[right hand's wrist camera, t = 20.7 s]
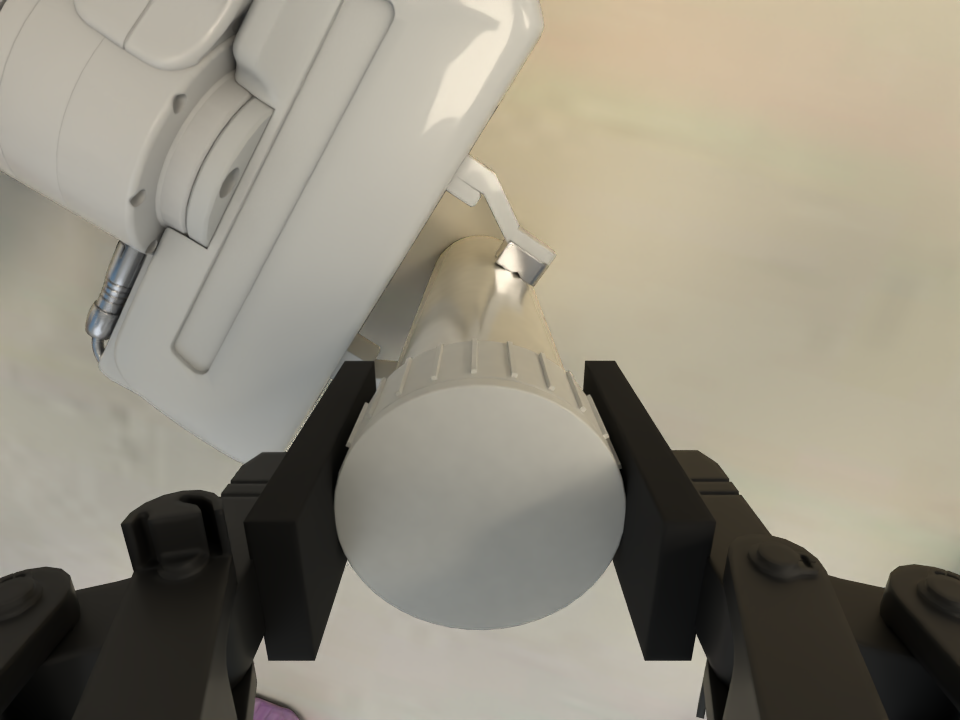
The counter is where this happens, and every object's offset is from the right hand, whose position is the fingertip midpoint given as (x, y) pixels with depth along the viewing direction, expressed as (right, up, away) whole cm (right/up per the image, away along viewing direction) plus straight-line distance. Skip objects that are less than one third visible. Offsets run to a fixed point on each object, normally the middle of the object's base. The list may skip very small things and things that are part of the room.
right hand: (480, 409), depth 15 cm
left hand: (+1, +2, +8) cm, 8 cm away
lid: (0, -2, -4) cm, 4 cm away
